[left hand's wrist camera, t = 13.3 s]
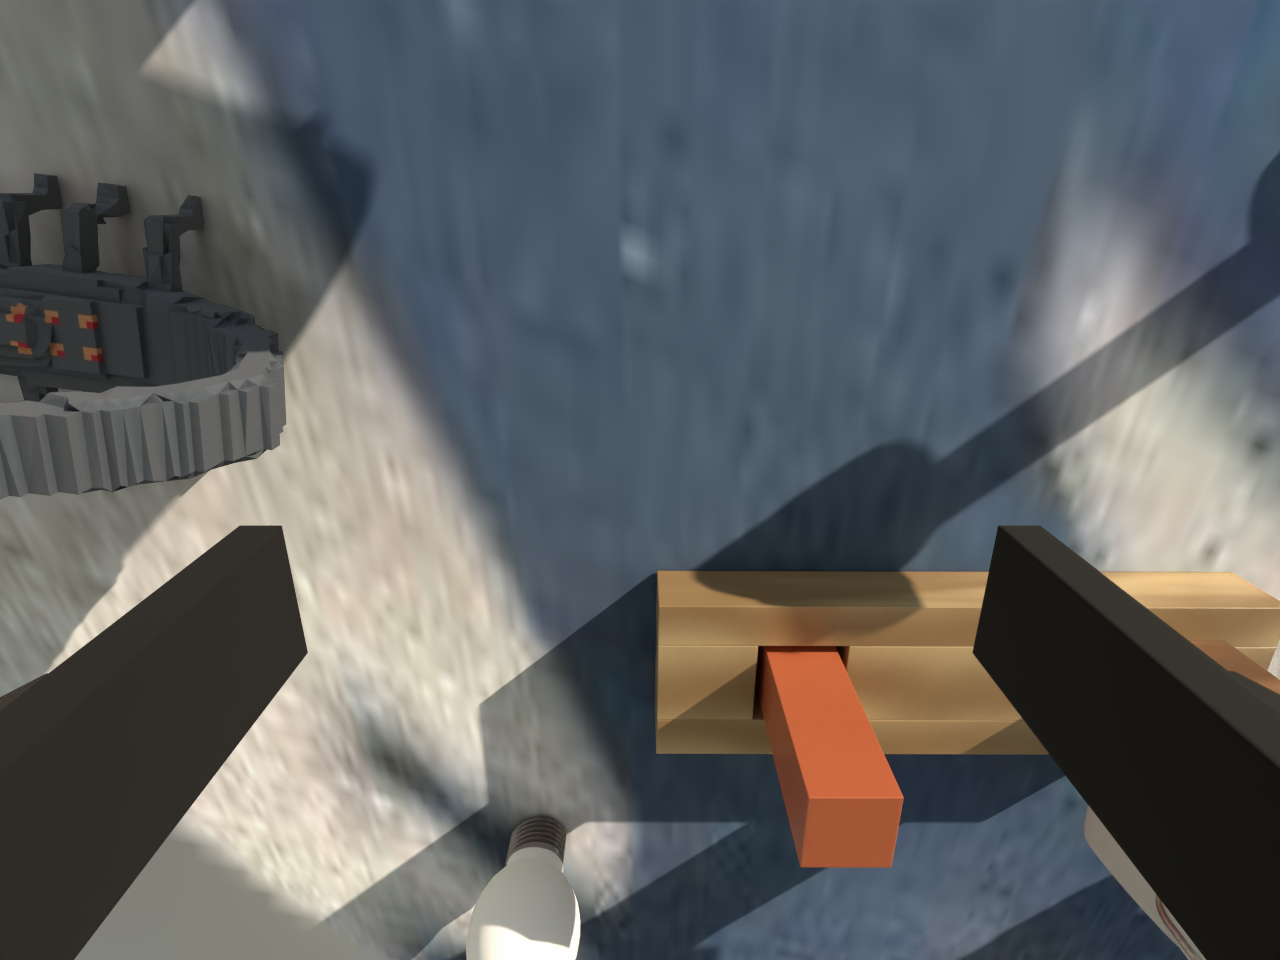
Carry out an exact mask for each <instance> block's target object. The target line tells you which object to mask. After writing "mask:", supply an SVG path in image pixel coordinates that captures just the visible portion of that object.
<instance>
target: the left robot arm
mask: <svg viewBox="0 0 1280 960" xmlns="http://www.w3.org/2000/svg"><path fill="white" fill-rule="evenodd" d="M307 653H308V652H307V647H306V642H305V637H304V632H303V627H302V623H301V618H300V613H299V608H298V603H297V598H296V593H295V588H294V584H293V579H292V574H291V569H290V564H289V559H288V554H287V549H286V545H285V540H284V535H283V530H282V526H239V527H238V528H236V529H235V530H234V531H232V532H231V533H230V534H228V535H227V536H226V537H225V538H223V539H222V540H221V541H219V542H218V543H217V544H216V545H214V546H213V547H212V548H210V549H209V550H208V551H206V552H205V553H204V554H203V555H201V556H200V557H199V558H197V559H196V560H195V561H194V562H192V563H191V564H190V565H188V566H187V567H186V568H184V569H183V570H182V571H181V572H179V573H178V574H177V575H175V576H174V577H173V578H172V579H170V580H169V581H168V582H166V583H165V584H164V585H162V586H161V587H160V588H159V589H157V590H156V591H155V592H153V593H152V594H151V595H150V596H148V597H147V598H146V599H144V600H143V601H142V602H140V603H139V604H138V605H137V606H135V607H134V608H133V609H131V610H130V611H129V612H128V613H126V614H125V615H124V616H122V617H121V618H120V619H118V620H117V621H116V622H115V623H113V624H112V625H111V626H109V627H108V628H107V629H106V630H104V631H103V632H102V633H100V634H99V635H98V636H96V637H95V638H94V639H93V640H91V641H90V642H89V643H87V644H86V645H85V646H84V647H82V648H81V649H80V650H78V651H77V652H76V653H75V654H73V655H72V656H71V657H69V658H68V659H67V660H65V661H64V662H63V663H62V664H60V665H59V666H58V667H56V668H55V669H54V670H53V671H51V672H50V673H49V674H45V675H43V676H41V677H39V678H37V679H35V680H33V681H31V682H29V683H27V684H25V685H23V686H21V687H19V688H17V689H16V690H14V691H12V692H10V693H8V694H6V695H4V696H2V697H0V960H74V959H75V958H76V956H77V955H78V954H79V952H80V951H81V950H82V948H83V947H84V946H85V944H86V943H87V942H88V941H89V939H90V938H91V937H92V935H93V934H94V933H95V931H96V930H97V929H98V927H99V926H100V925H101V923H102V922H103V921H104V920H105V918H106V917H107V916H108V914H109V913H110V912H111V910H112V909H113V908H114V906H115V905H116V904H117V902H118V901H119V900H120V899H121V897H122V896H123V895H124V893H125V892H126V891H127V889H128V888H129V887H130V885H131V884H132V883H133V881H134V880H135V879H136V877H137V876H138V875H139V874H140V872H141V871H142V870H143V868H144V867H145V866H146V864H147V863H148V862H149V860H150V859H151V858H152V857H153V855H154V854H155V853H156V851H157V850H158V849H159V847H160V846H161V845H162V843H163V842H164V841H165V839H166V838H167V837H168V835H169V834H170V833H171V832H172V830H173V829H174V828H175V826H176V825H177V824H178V822H179V821H180V820H181V818H182V817H183V816H184V814H185V813H186V812H187V811H188V809H189V808H190V807H191V805H192V804H193V803H194V801H195V800H196V799H197V797H198V796H199V795H200V793H201V792H202V791H203V790H204V788H205V787H206V786H207V784H208V783H209V782H210V780H211V779H212V778H213V776H214V775H215V774H216V772H217V771H218V770H219V769H220V767H221V766H222V765H223V763H224V762H225V761H226V759H227V758H228V757H229V755H230V754H231V753H232V751H233V750H234V749H235V748H236V746H237V745H238V744H239V742H240V741H241V740H242V738H243V737H244V736H245V734H246V733H247V732H248V730H249V729H250V728H251V727H252V725H253V724H254V723H255V721H256V720H257V719H258V717H259V716H260V715H261V713H262V712H263V711H264V709H265V708H266V707H267V706H268V704H269V703H270V702H271V700H272V699H273V698H274V696H275V695H276V694H277V692H278V691H279V690H280V688H281V687H282V686H283V685H284V683H285V682H286V681H287V679H288V678H289V677H290V675H291V674H292V673H293V671H294V670H295V669H296V667H297V666H298V665H299V663H300V662H301V661H302V660H303V658H304V657H305V656H306V654H307ZM972 653H973V654H974V656H975V657H976V658H977V660H978V661H979V662H980V663H981V665H982V666H983V667H984V669H985V670H986V671H987V673H988V674H989V675H990V677H991V678H992V679H993V681H994V682H995V683H996V685H997V686H998V687H999V688H1000V690H1001V691H1002V692H1003V694H1004V695H1005V696H1006V698H1007V699H1008V700H1009V702H1010V703H1011V704H1012V706H1013V707H1014V708H1015V709H1016V711H1017V712H1018V713H1019V715H1020V716H1021V717H1022V719H1023V720H1024V721H1025V723H1026V724H1027V725H1028V727H1029V728H1030V729H1031V730H1032V732H1033V733H1034V734H1035V736H1036V737H1037V738H1038V740H1039V741H1040V742H1041V744H1042V745H1043V746H1044V748H1045V749H1046V750H1047V751H1048V753H1049V754H1050V755H1051V757H1052V758H1053V759H1054V761H1055V762H1056V763H1057V765H1058V766H1059V767H1060V769H1061V770H1062V771H1063V772H1064V774H1065V775H1066V776H1067V778H1068V779H1069V780H1070V782H1071V783H1072V784H1073V786H1074V787H1075V788H1076V790H1077V791H1078V792H1079V793H1080V795H1081V796H1082V797H1083V799H1084V800H1085V801H1086V803H1087V804H1088V805H1089V807H1090V808H1091V809H1092V811H1093V812H1094V813H1095V815H1096V816H1097V817H1098V818H1099V820H1100V821H1101V822H1102V824H1103V825H1104V826H1105V828H1106V829H1107V830H1108V832H1109V833H1110V834H1111V836H1112V837H1113V838H1114V839H1115V841H1116V842H1117V843H1118V845H1119V846H1120V847H1121V849H1122V850H1123V851H1124V853H1125V854H1126V855H1127V857H1128V858H1129V859H1130V860H1131V862H1132V863H1133V864H1134V866H1135V867H1136V868H1137V870H1138V871H1139V872H1140V874H1141V875H1142V876H1143V878H1144V879H1145V880H1146V881H1147V883H1148V884H1149V885H1150V887H1151V888H1152V889H1153V891H1154V892H1155V893H1156V895H1157V896H1158V897H1159V899H1160V900H1161V901H1162V902H1163V904H1164V905H1165V906H1166V908H1167V909H1168V910H1169V912H1170V913H1171V914H1172V916H1173V917H1174V918H1175V920H1176V921H1177V922H1178V923H1179V925H1180V926H1181V927H1182V929H1183V930H1184V931H1185V933H1186V934H1187V935H1188V937H1189V938H1190V939H1191V941H1192V942H1193V943H1194V944H1195V946H1196V947H1197V948H1198V950H1199V951H1200V952H1201V954H1202V955H1203V956H1204V958H1205V959H1206V960H1280V694H1278V693H1276V692H1274V691H1272V690H1270V689H1268V688H1266V687H1264V686H1263V685H1261V684H1259V683H1257V682H1255V681H1253V680H1251V679H1249V678H1247V677H1245V676H1243V675H1241V674H1239V673H1237V672H1235V671H1227V670H1226V669H1225V668H1224V667H1222V666H1221V665H1220V664H1218V663H1217V662H1216V661H1215V660H1213V659H1212V658H1211V657H1209V656H1208V655H1207V654H1205V653H1204V652H1203V651H1202V650H1200V649H1199V648H1198V647H1196V646H1195V645H1194V644H1193V643H1191V642H1190V641H1189V640H1187V639H1186V638H1185V637H1184V636H1182V635H1181V634H1180V633H1178V632H1177V631H1176V630H1174V629H1173V628H1172V627H1171V626H1169V625H1168V624H1167V623H1165V622H1164V621H1163V620H1162V619H1160V618H1159V617H1158V616H1156V615H1155V614H1154V613H1152V612H1151V611H1150V610H1149V609H1147V608H1146V607H1145V606H1143V605H1142V604H1141V603H1140V602H1138V601H1137V600H1136V599H1134V598H1133V597H1132V596H1130V595H1129V594H1128V593H1127V592H1125V591H1124V590H1123V589H1121V588H1120V587H1119V586H1118V585H1116V584H1115V583H1114V582H1112V581H1111V580H1110V579H1108V578H1107V577H1106V576H1105V575H1103V574H1102V573H1101V572H1099V571H1098V570H1097V569H1096V568H1094V567H1093V566H1092V565H1090V564H1089V563H1088V562H1086V561H1085V560H1084V559H1083V558H1081V557H1080V556H1079V555H1077V554H1076V553H1075V552H1074V551H1072V550H1071V549H1070V548H1068V547H1067V546H1066V545H1064V544H1063V543H1062V542H1061V541H1059V540H1058V539H1057V538H1055V537H1054V536H1053V535H1052V534H1050V533H1049V532H1048V531H1046V530H1045V529H1044V528H1042V527H1041V526H998V530H997V535H996V540H995V545H994V549H993V554H992V559H991V564H990V569H989V574H988V579H987V584H986V588H985V593H984V598H983V603H982V608H981V613H980V618H979V623H978V627H977V632H976V637H975V642H974V647H973V652H972Z"/></svg>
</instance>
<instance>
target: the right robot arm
mask: <svg viewBox="0 0 1280 960" xmlns="http://www.w3.org/2000/svg"><path fill="white" fill-rule="evenodd" d="M1084 833H1085V837H1086V840H1087V842H1088V844H1089V846H1090V847H1091V848H1092V850H1093V851H1094V853H1095V854H1096V855H1097V856H1098V858H1099V859H1100V860H1101V862H1102V863H1103V864H1104V865H1105V867H1106V868H1107V869H1108V870H1109V871H1110V873H1111V874H1112V875H1113V876H1114V877H1115V879H1116V880H1117V881H1118V882H1119V883H1120V885H1121V886H1122V887H1123V888H1124V889H1125V890H1126V892H1127V893H1128V894H1129V895H1130V896H1131V897H1132V898H1133V899H1134V901H1135V902H1136V903H1137V904H1138V905H1139V906H1140V907H1141V908H1142V909H1143V911H1144V912H1145V913H1146V914H1147V915H1148V916H1149V917H1150V918H1151V919H1152V920H1153V921H1154V922H1155V924H1156V925H1157V926H1158V927H1159V928H1160V929H1161V930H1162V931H1163V932H1164V933H1165V934H1166V935H1167V936H1168V937H1169V938H1170V939H1171V940H1172V941H1173V942H1174V943H1175V944H1176V945H1177V946H1178V947H1179V948H1180V949H1181V951H1182V952H1183V953H1184V955H1185V956H1186V957H1187V959H1188V960H1206V959H1205V958H1204V956H1203V955H1202V954H1201V952H1200V951H1199V950H1198V948H1197V947H1196V946H1195V944H1194V943H1193V942H1192V941H1191V939H1190V938H1189V937H1188V935H1187V934H1186V933H1185V931H1184V930H1183V929H1182V927H1181V926H1180V925H1179V923H1178V922H1177V921H1176V920H1175V918H1174V917H1173V916H1172V914H1171V913H1170V912H1169V910H1168V909H1167V908H1166V906H1165V905H1164V904H1163V902H1162V901H1161V900H1160V899H1159V897H1158V896H1157V895H1156V893H1155V892H1154V891H1153V889H1152V888H1151V887H1150V885H1149V884H1148V883H1147V881H1146V880H1145V879H1144V878H1143V876H1142V875H1141V874H1140V872H1139V871H1138V870H1137V868H1136V867H1135V866H1134V864H1133V863H1132V862H1131V860H1130V859H1129V858H1128V857H1127V855H1126V854H1125V853H1124V851H1123V850H1122V849H1121V847H1120V846H1119V845H1118V843H1117V842H1116V841H1115V839H1114V838H1113V837H1112V836H1111V834H1110V833H1109V832H1108V830H1107V829H1106V828H1105V826H1104V825H1103V824H1102V822H1101V821H1100V820H1099V818H1098V817H1097V816H1096V815H1095V813H1094V812H1093V811H1092V809H1091V808H1090V807H1089V805H1088V808H1087V812H1086V816H1085V823H1084Z"/></svg>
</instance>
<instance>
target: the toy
mask: <svg viewBox="0 0 1280 960" xmlns="http://www.w3.org/2000/svg"><path fill="white" fill-rule="evenodd" d="M43 209H62V206H61V200H60V193H59V186H58V180H57V176H52V175H45V174H34V190H33V193H0V374H7V375H15V376H18V379H19V383H20V386H21V390H22V393H23V397H24V400H25V401H18V402H8V403H6V402H0V499H2V498H5V497H7V496H17V497H21V496H23V495H25V494H27V493H33V494H41V495H49V496H50V495H52V494H54V493H56V492H64V493H72V494H80V493H86V492H91V491H97V490H106V491H111V492H114V491H117V490H120V489H123V488H126V487H129V486H133V485H138V484H146V483H154V482H162V481H171V480H180V479H189V478H192V477H195V476H197V475H199V474H202V473H204V472H206V471H209V470H211V469H214V468H218V467H222V466H225V465H229V464H232V463H236V462H241V461H247V460H252V459H257V458H258V457H259V456H260V455H261V454H263V453H264V452H265V451H266V450H267V449H268V450H273V449H274V448H276V447H278V446H279V445H280V435H279V434H280V433H281V432H283V428H282V427H283V426H284V425H286V408H285V386H284V367H283V355H282V352H281V351H279V349H278V333H274V331H269V330H264V328H261V326H257V325H255V320H254V316H252V315H250V314H247V313H245V312H243V311H240V310H237V309H234V308H231V307H228V306H223V305H219V304H214V303H211V302H209V301H208V300H206V299H204V298H202V297H199V296H196V295H193V294H189V293H186V292H183V290H182V283H181V276H180V269H179V264H180V243H179V236H180V235H182V234H183V233H185V232H186V231H188V230H197V229H203V223H202V211H201V198H200V197H195V196H189V195H188V196H187V198H186V200H185V201H184V203H183V204H182V206H181V208H180V211H179V215H159V216H149V217H148V218H147V219H145V220H144V225H145V232H146V240H147V247H148V248H143V253H144V259H145V265H146V271H147V277H148V278H143V277H136V276H130V275H123V274H109V273H105V272H100V271H96V269H97V267H98V266H99V250H98V235H97V224H106V222H105V220H104V218H103V217H119V216H123V215H125V214H126V213H128V212H129V208H128V200H127V191H126V186H120V185H113V184H106V183H98V191H97V201H96V203H95V204H84V203H74V204H73V205H72V206H71V208H69V209H67V210H65V211H63V212H61V213H60V214H61V223H62V231H63V240H64V248H65V257H64V263H63V266H59V265H52V264H46V265H34V266H32V263H31V258H30V227H29V217H28V216H29V215H31V214H33V213H36V212H38V211H40V210H43ZM58 388H61V389H71V390H82V392H81V391H69V392H58Z"/></svg>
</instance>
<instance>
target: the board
mask: <svg viewBox="0 0 1280 960" xmlns="http://www.w3.org/2000/svg"><path fill="white" fill-rule="evenodd" d="M1101 573H1102V574H1103V575H1105V576H1106V577H1107V578H1108V579H1110V580H1111V581H1112V582H1114V583H1115V584H1116V585H1118V586H1119V587H1120V588H1121V589H1123V590H1124V591H1125V592H1127V593H1128V594H1129V595H1130V596H1132V597H1133V598H1134V599H1136V600H1137V601H1138V602H1140V603H1141V604H1142V605H1143V606H1145V607H1146V608H1147V609H1149V610H1150V611H1151V612H1152V613H1154V614H1155V615H1156V616H1158V617H1159V618H1160V619H1162V620H1163V621H1164V622H1165V623H1167V624H1168V625H1169V626H1171V627H1172V628H1173V629H1174V630H1176V631H1177V632H1178V633H1180V634H1181V635H1182V636H1184V637H1185V638H1186V639H1187V640H1189V641H1190V642H1191V643H1193V644H1194V645H1195V646H1196V647H1198V648H1199V649H1200V650H1202V651H1203V652H1204V653H1205V654H1207V655H1208V656H1209V657H1211V658H1212V659H1213V660H1215V661H1216V662H1217V663H1218V664H1220V665H1221V666H1222V667H1224V668H1225V669H1226V670H1227V671H1235V672H1237V673H1239V674H1241V675H1243V676H1245V677H1247V678H1249V679H1251V680H1253V681H1255V682H1257V683H1259V684H1261V685H1263V686H1264V687H1266V688H1268V689H1270V690H1272V691H1274V692H1276V693H1278V694H1280V680H1279V679H1278V678H1276V677H1275V676H1273V675H1272V674H1271V673H1269V672H1268V671H1267V670H1268V667H1269V665H1270V662H1271V660H1272V657H1273V655H1274V652H1275V650H1276V647H1277V645H1278V642H1279V640H1280V601H1279V600H1277V599H1276V598H1274V597H1272V596H1271V595H1269V594H1267V593H1266V592H1264V591H1262V590H1261V589H1259V588H1257V587H1256V586H1254V585H1252V584H1251V583H1249V582H1247V581H1246V580H1244V579H1242V578H1241V577H1239V576H1237V575H1236V574H1234V573H1216V572H1101ZM988 574H989V572H887V571H657V593H656V662H655V729H656V753H657V754H772V750H771V746H770V742H769V738H768V734H767V730H766V726H765V722H764V718H763V714H762V710H761V705H760V701H759V697H758V693H757V689H756V685H755V680H756V667H757V654H758V646H835V647H836V649H837V652H838V654H839V656H840V658H841V660H842V663H843V665H844V667H845V669H846V671H847V674H848V676H849V678H850V680H851V682H852V685H853V687H854V689H855V691H856V694H857V696H858V698H859V700H860V702H861V705H862V707H863V709H864V711H865V713H866V716H867V718H868V720H869V722H870V724H871V727H872V729H873V731H874V733H875V735H876V738H877V740H878V742H879V744H880V747H881V749H882V751H883V753H884V754H991V755H1050V754H1049V753H1048V751H1047V750H1046V749H1045V748H1044V746H1043V745H1042V744H1041V742H1040V741H1039V740H1038V738H1037V737H1036V736H1035V734H1034V733H1033V732H1032V730H1031V729H1030V728H1029V727H1028V725H1027V724H1026V723H1025V721H1024V720H1023V719H1022V717H1021V716H1020V715H1019V713H1018V712H1017V711H1016V709H1015V708H1014V707H1013V706H1012V704H1011V703H1010V702H1009V700H1008V699H1007V698H1006V696H1005V695H1004V694H1003V692H1002V691H1001V690H1000V688H999V687H998V686H997V685H996V683H995V682H994V681H993V679H992V678H991V677H990V675H989V674H988V673H987V671H986V670H985V669H984V667H983V666H982V665H981V663H980V662H979V661H978V660H977V658H976V657H975V656H974V654H973V653H972V652H973V647H974V642H975V637H976V632H977V627H978V623H979V618H980V613H981V608H982V603H983V598H984V593H985V588H986V584H987V579H988Z"/></svg>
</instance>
